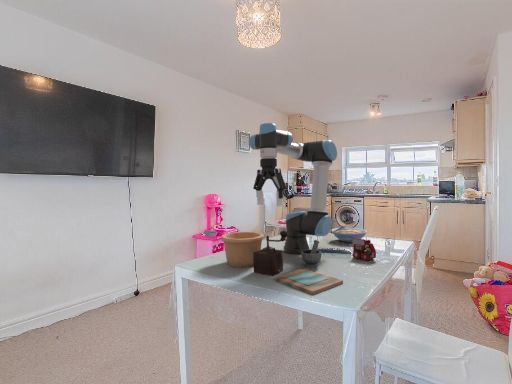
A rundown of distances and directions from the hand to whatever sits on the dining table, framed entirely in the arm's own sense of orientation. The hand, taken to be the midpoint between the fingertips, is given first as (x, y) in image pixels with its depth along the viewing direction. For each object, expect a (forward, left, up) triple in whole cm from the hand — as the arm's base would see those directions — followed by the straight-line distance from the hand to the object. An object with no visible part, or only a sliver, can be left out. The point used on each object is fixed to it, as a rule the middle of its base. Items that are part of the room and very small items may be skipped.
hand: (269, 205), depth 136 cm
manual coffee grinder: (-3, +3, -31) cm, 31 cm away
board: (+19, +3, -31) cm, 36 cm away
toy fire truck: (+15, +51, -31) cm, 62 cm away
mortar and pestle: (+5, +22, -31) cm, 38 cm away
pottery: (-22, 0, -31) cm, 38 cm away
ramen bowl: (-16, +83, -31) cm, 90 cm away
